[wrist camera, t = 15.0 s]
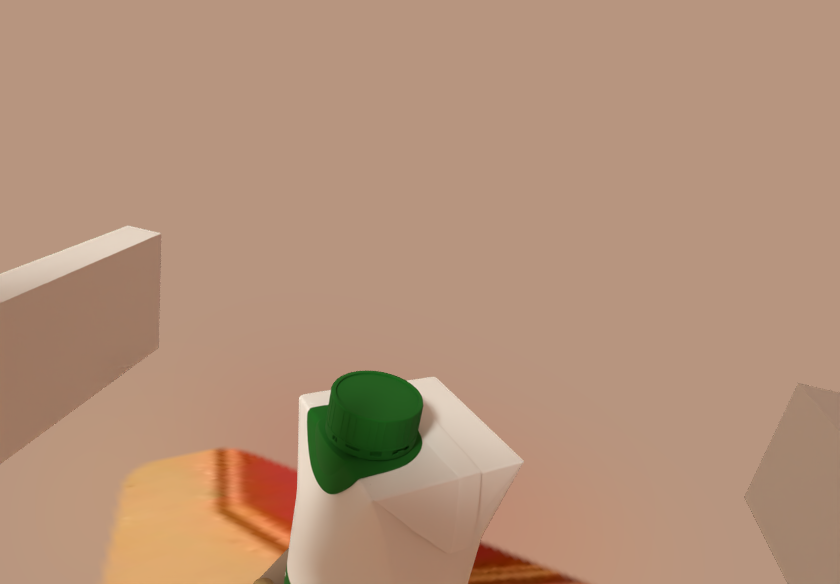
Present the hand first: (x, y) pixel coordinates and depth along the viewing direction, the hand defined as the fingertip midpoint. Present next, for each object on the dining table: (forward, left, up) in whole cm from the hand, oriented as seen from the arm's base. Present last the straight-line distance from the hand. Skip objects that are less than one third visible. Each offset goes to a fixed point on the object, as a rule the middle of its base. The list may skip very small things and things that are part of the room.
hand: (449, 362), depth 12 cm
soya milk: (+4, -12, -28) cm, 31 cm away
